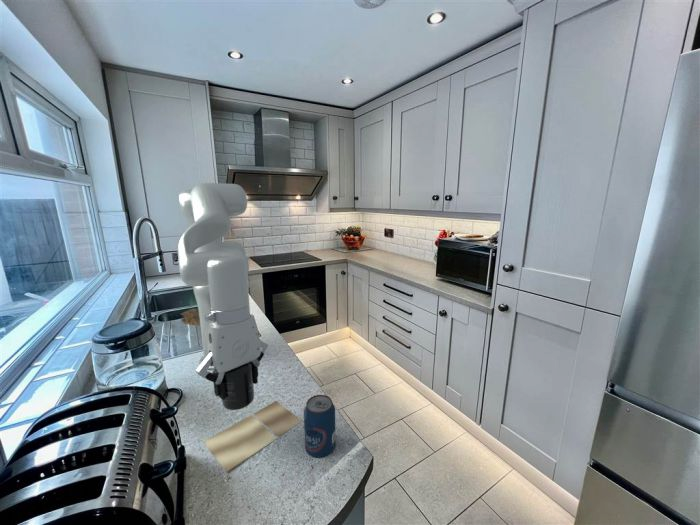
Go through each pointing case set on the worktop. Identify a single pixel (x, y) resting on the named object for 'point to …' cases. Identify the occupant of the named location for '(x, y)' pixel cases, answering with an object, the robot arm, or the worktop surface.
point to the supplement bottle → (238, 387)
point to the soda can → (319, 426)
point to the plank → (239, 442)
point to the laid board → (277, 418)
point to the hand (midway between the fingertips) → (237, 388)
